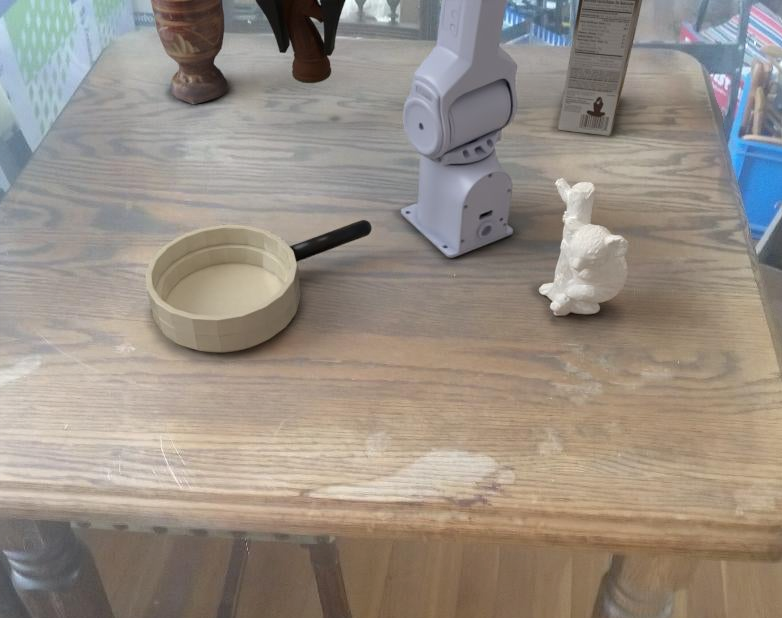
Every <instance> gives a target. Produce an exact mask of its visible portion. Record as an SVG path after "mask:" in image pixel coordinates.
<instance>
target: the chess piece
mask: <svg viewBox="0 0 782 618" xmlns="http://www.w3.org/2000/svg"><path fill="white" fill-rule="evenodd" d="M283 11H284V18H285V23H286V27H287V30H288V34H289V37H290V46H291V48H292V51H293V60H292V64H291V68H292V69H291V75H292V78H293V79H294V80H295V81H297V82H298V83H301V84H302V83H303V84H316V83H321V82H325V81H326V80H327V79H329V78H330V76H331V74H332V67H331V60H330V58H329V56H325V53H324V38H323V37H322V35H321V33H320V31H319V29H318V27H317V26H316V24H315V22H314V21H313V20H312V19H315V20H316V21H318V22H319V23H320V24H322V23H323V16H322V10H321V4H320V1H319V0H284V6H283Z"/></svg>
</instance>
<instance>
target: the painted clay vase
mask: <svg viewBox="0 0 782 618" xmlns="http://www.w3.org/2000/svg"><path fill="white" fill-rule="evenodd" d="M150 4H151V9H152V12H153V18H154V22H155V27H156V31H157V34H158V36H159V40H160V42H161V44H162V47H163V49H164V52H165V54H167V56H168V57H169V58H171V59H172V60H173V61H175V62H176V63H177V64H178V68H179V69H178V71H177V72H176V73H175V74H174V75H173V76H172V78H171V84H170V86H171V88H170V89H171V91H170V92H171V93H172V95H173V97H175V98H176V99H178V100H180V101H184V102H186V103H189V104H192V105H197V104H200V103H204V102H207V101H211V100H214V99H217V98H220V97H221V96H223V95H225V94H226V92H227V91H228V90H229V83H228V79H227V78H226V77H225V75H224V74H223V72H222V70H221V69H220V68H219V67H218V66H217V65H215V59H216V58H217V56H218V55H219V53H220V52H221V50H222V49H223V43H224V42H223V41H224V38H225V37H224V36H225V13H224V12H225V11H224V6H223V0H150Z"/></svg>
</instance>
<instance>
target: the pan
mask: <svg viewBox="0 0 782 618" xmlns="http://www.w3.org/2000/svg"><path fill="white" fill-rule="evenodd" d="M144 276H145V288H146V293H147V297H148V301H149V304H150V308H151V313H152V316H153V320H154V322H155V323H156V324H157V325H156V326H158V328H159V330H160V332H161V333H162V335H163V336H166V337H167V338H168V339H170V340H171V341H173V342H174V343H175V344H177V345H180V346H182V347H186V348H188V349H192V350H195V351H198V352H205V353H206V352H207V353H219V354H220V353H232V352H238V351H239V352H240V351H243V350H247V349H250V348H253V347H255V346H258V345H260V344H262V343H263V344H264V342H266V341H268V340H271V339H272V338H273V337H275V336H276V335H277V334H279V333H280V332H281V331H283V330H284V329H285V328H286V327H288V325H289V324H290V322H291V321H292V319H293V318H294V317H295V315H296V314H297V312H298V308H299V303H300V299H301V294H300V281H299V269H298V262H296V259H295V255H294V252H293V250H292V249H291V248H290V245H288V243H287V242H286V241H285V240H284V238H283V237H280V236H278V235H277V234H274V233H273V232H272V231H269V230H267V229H264V228H259V227H255V226H252V225H248V224H227V223H226V224H218V225H217V224H216V225H211V226H203V227H200V228H197V229H195V230H191V231H188V232H185V233H183V234H181V235H179V236H177V237H176V238H174V239H172V240H170V241H169V242H168V243H166V244H164V245H163V246H162V247H161V248H160V249H159V250H158V251H157V252H156V253H155V254H154V256H153V257H151V259H150V262H149V265H148V266H147V269H146V271H145V275H144Z"/></svg>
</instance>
